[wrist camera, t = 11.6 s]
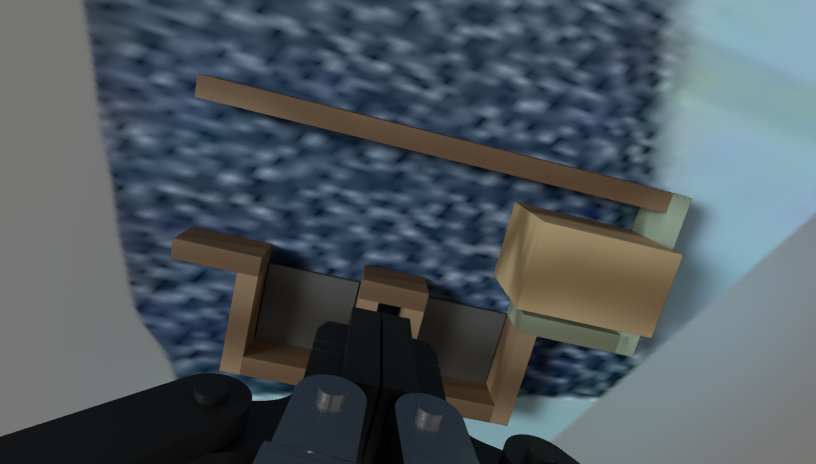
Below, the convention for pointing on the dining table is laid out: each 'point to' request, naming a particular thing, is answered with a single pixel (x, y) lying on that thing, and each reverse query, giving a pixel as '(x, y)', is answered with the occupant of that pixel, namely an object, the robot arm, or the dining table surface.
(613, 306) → the block
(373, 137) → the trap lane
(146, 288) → the dining table surface
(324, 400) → the robot arm
